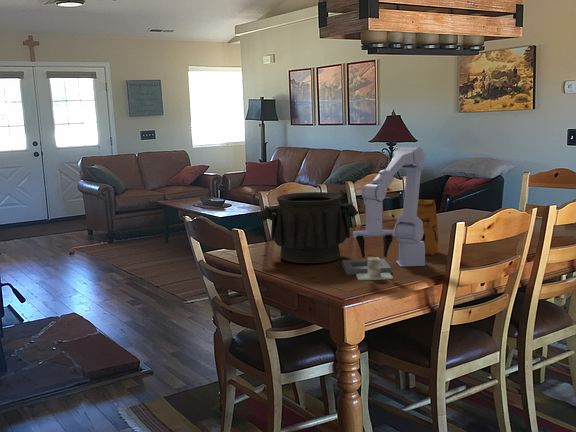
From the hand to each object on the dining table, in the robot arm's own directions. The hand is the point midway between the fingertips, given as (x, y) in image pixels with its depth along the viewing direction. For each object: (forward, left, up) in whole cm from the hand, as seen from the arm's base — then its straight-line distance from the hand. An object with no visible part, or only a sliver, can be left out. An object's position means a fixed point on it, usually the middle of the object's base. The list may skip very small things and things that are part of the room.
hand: (374, 256), depth 222 cm
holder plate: (+1, -11, -7) cm, 14 cm away
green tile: (0, 0, -7) cm, 7 cm away
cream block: (0, 0, -7) cm, 7 cm away
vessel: (+20, -32, -8) cm, 39 cm away
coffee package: (-26, -34, -8) cm, 44 cm away
